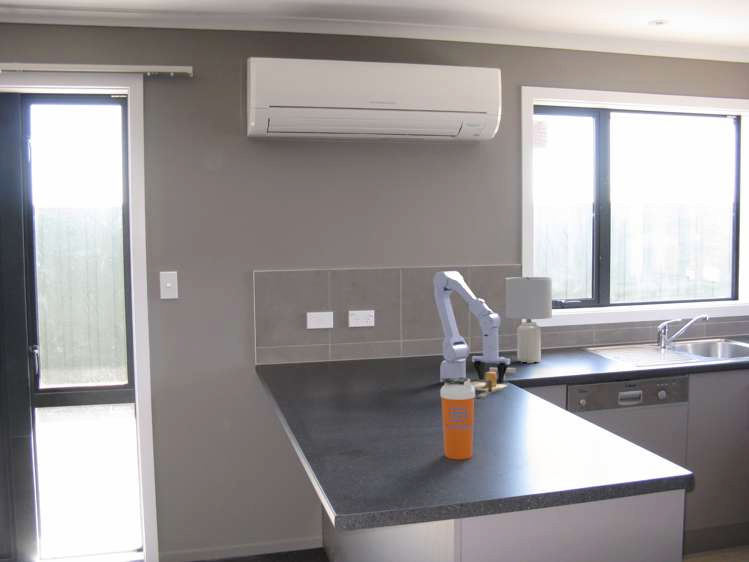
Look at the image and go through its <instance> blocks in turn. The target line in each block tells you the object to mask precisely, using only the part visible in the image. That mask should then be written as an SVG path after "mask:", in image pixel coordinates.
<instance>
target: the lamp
mask: <svg viewBox="0 0 749 562" xmlns="http://www.w3.org/2000/svg"><path fill="white" fill-rule="evenodd" d="M552 281H553V280H552V277H547V276H546V277H544V276H541V277H540V276H539V277H538V276H523V277H522V276H519V277H518V276H517V277H516V276H515V277H505V317H506V318H508V319H513V320H525V321H523V322H521V324H520V325H519V326H518V327H517V329H516V331H517V332H516V333H517V335H516V336H517V337H516V339H517V340H516V342H517V343H516V345H517V347H516V349H517V352H516V353H517V360H518V362H519V361H521V362H520V363H522V362H527V363H526V364H535V363H534V362H537V363H539V362H540V361H541V359H542V353H541V352H542V350H541V349H542V345H541V344H542V339H541V338H542V337H541V335H542V332H541V327H540V326H539V325H538V324H537V322H534V321H532V320H545V319H551V318H553V302H552V301H553V291H552V290H553V282H552Z"/></svg>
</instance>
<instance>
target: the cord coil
mask: <svg viewBox="0 0 749 562" xmlns="http://www.w3.org/2000/svg"><path fill="white" fill-rule="evenodd" d="M484 376H485V380H492V387H496V384H497V372H490V371H486V372H484ZM486 387H488V383H486Z"/></svg>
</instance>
